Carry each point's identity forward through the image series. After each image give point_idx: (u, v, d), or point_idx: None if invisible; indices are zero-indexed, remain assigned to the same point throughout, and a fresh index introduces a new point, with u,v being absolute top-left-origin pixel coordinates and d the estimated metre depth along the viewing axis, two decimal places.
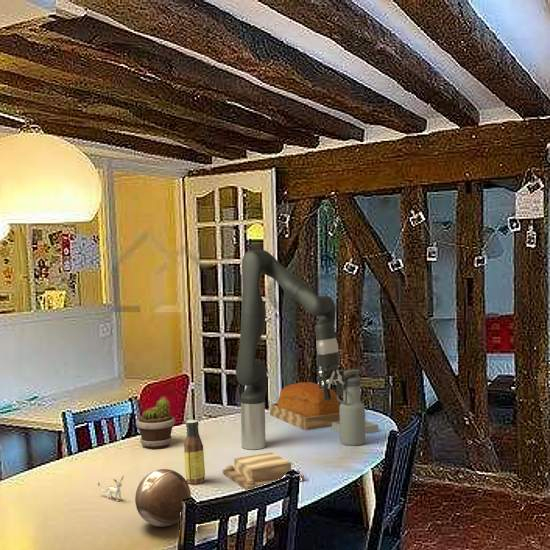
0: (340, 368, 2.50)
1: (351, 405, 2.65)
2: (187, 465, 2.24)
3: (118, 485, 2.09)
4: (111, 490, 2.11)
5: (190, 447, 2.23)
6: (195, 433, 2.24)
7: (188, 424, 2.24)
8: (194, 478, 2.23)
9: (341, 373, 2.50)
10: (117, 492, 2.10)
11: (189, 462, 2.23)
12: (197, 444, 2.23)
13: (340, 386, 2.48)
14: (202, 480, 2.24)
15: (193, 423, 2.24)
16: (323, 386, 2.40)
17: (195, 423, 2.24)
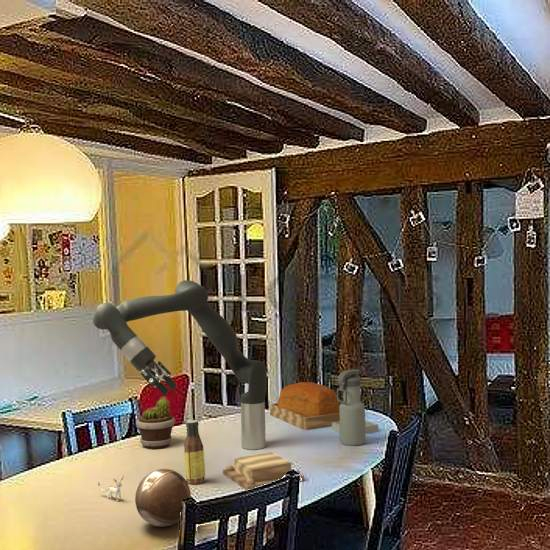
0: None
1: (351, 405, 2.65)
2: (187, 465, 2.24)
3: (118, 485, 2.09)
4: (111, 490, 2.11)
5: (190, 447, 2.23)
6: (195, 433, 2.24)
7: (188, 424, 2.24)
8: (194, 478, 2.23)
9: None
10: (117, 492, 2.10)
11: (189, 462, 2.23)
12: (197, 444, 2.23)
13: None
14: (202, 480, 2.24)
15: (193, 423, 2.24)
16: None
17: (195, 423, 2.24)
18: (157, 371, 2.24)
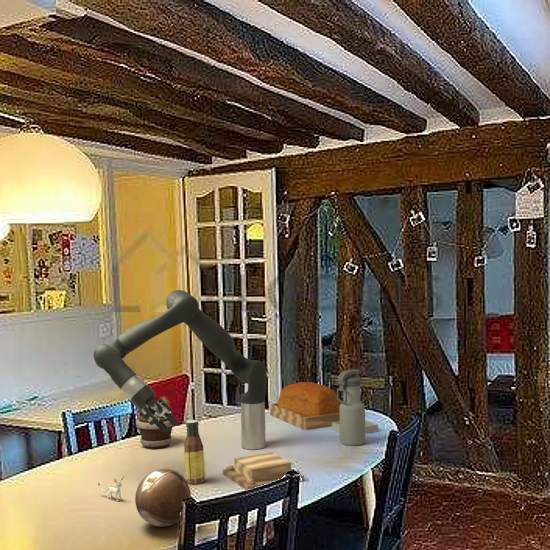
0: None
1: (351, 405, 2.65)
2: (187, 465, 2.24)
3: (118, 485, 2.09)
4: (111, 490, 2.11)
5: (190, 447, 2.23)
6: (195, 433, 2.24)
7: (188, 424, 2.24)
8: (194, 478, 2.23)
9: None
10: (117, 492, 2.10)
11: (189, 462, 2.23)
12: (197, 444, 2.23)
13: None
14: (202, 480, 2.24)
15: (193, 423, 2.24)
16: None
17: (195, 423, 2.24)
18: (157, 409, 2.26)
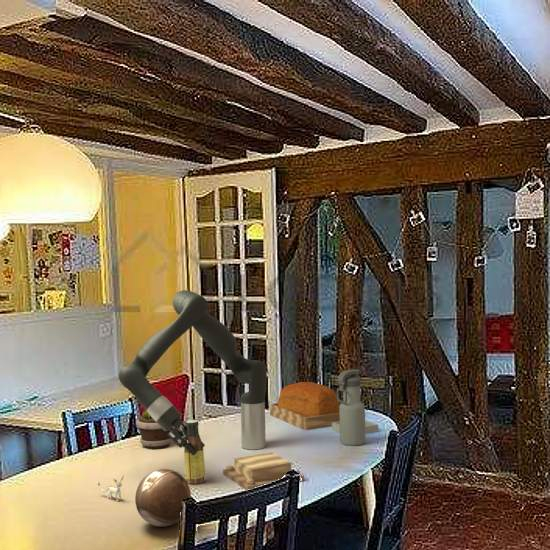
0: None
1: (351, 405, 2.65)
2: (187, 465, 2.24)
3: (118, 485, 2.09)
4: (111, 490, 2.11)
5: None
6: (195, 433, 2.24)
7: (188, 424, 2.24)
8: (194, 478, 2.23)
9: None
10: (117, 492, 2.10)
11: (189, 462, 2.23)
12: (197, 444, 2.23)
13: None
14: (202, 480, 2.24)
15: (193, 423, 2.24)
16: None
17: (195, 423, 2.24)
18: (184, 430, 2.25)
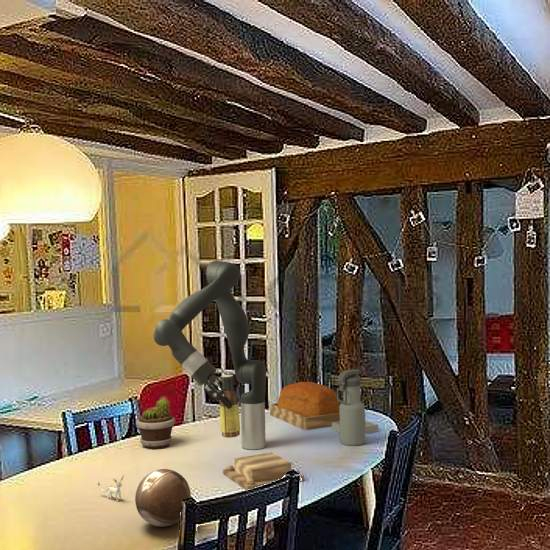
0: None
1: (351, 405, 2.65)
2: (222, 419, 2.25)
3: (118, 485, 2.09)
4: (111, 490, 2.11)
5: None
6: (230, 387, 2.26)
7: (223, 378, 2.25)
8: (229, 432, 2.25)
9: None
10: (117, 492, 2.10)
11: (224, 415, 2.25)
12: (232, 398, 2.25)
13: None
14: (237, 434, 2.26)
15: (228, 377, 2.25)
16: None
17: (230, 377, 2.26)
18: (219, 385, 2.26)
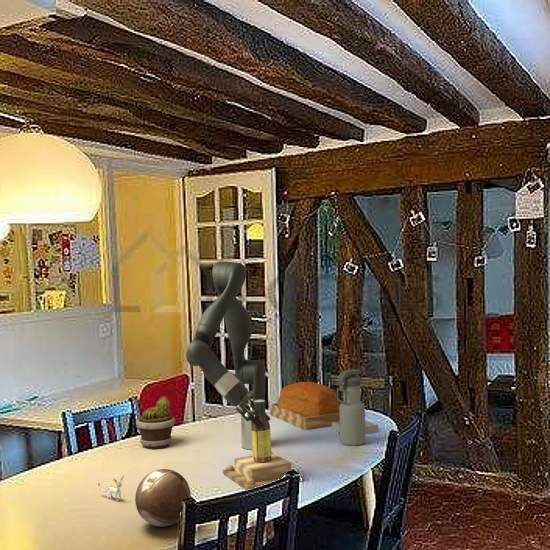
0: None
1: (351, 405, 2.65)
2: (255, 444, 2.27)
3: (118, 485, 2.09)
4: (111, 490, 2.11)
5: None
6: (263, 412, 2.27)
7: (255, 403, 2.27)
8: (261, 457, 2.26)
9: None
10: (117, 492, 2.10)
11: (257, 440, 2.26)
12: (265, 423, 2.27)
13: None
14: (269, 459, 2.27)
15: (261, 402, 2.27)
16: None
17: (262, 402, 2.27)
18: (251, 405, 2.27)
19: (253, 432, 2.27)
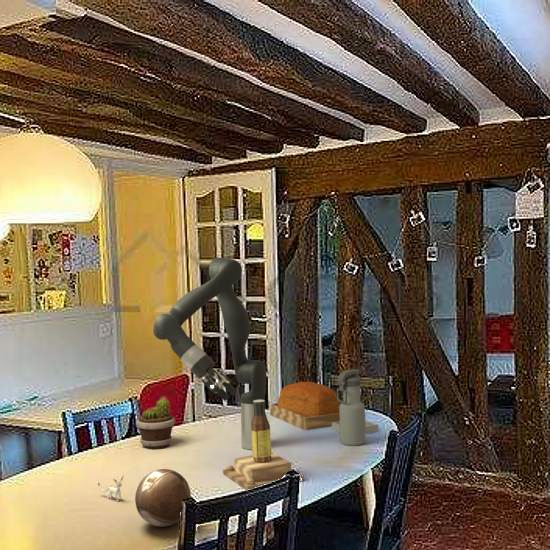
0: None
1: (351, 405, 2.65)
2: (255, 444, 2.27)
3: (118, 485, 2.09)
4: (111, 490, 2.11)
5: (257, 426, 2.26)
6: (262, 412, 2.27)
7: (255, 403, 2.27)
8: (261, 457, 2.26)
9: None
10: (117, 492, 2.10)
11: (257, 440, 2.26)
12: (265, 423, 2.27)
13: None
14: (269, 459, 2.27)
15: (260, 402, 2.27)
16: None
17: (262, 402, 2.27)
18: (217, 378, 2.30)
19: (253, 432, 2.27)
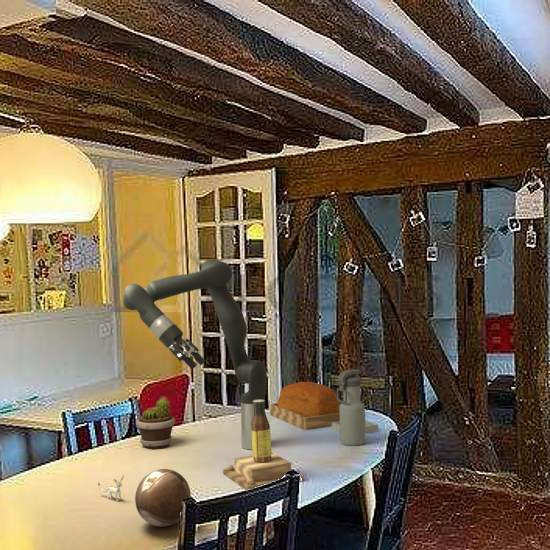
0: None
1: (351, 405, 2.65)
2: (254, 444, 2.27)
3: (118, 485, 2.09)
4: (111, 490, 2.11)
5: (257, 426, 2.26)
6: (262, 412, 2.28)
7: (255, 403, 2.27)
8: (261, 456, 2.26)
9: None
10: (117, 492, 2.10)
11: (256, 440, 2.26)
12: (264, 423, 2.27)
13: None
14: (269, 459, 2.27)
15: (260, 402, 2.27)
16: None
17: (262, 402, 2.27)
18: (185, 346, 2.32)
19: (253, 432, 2.27)
